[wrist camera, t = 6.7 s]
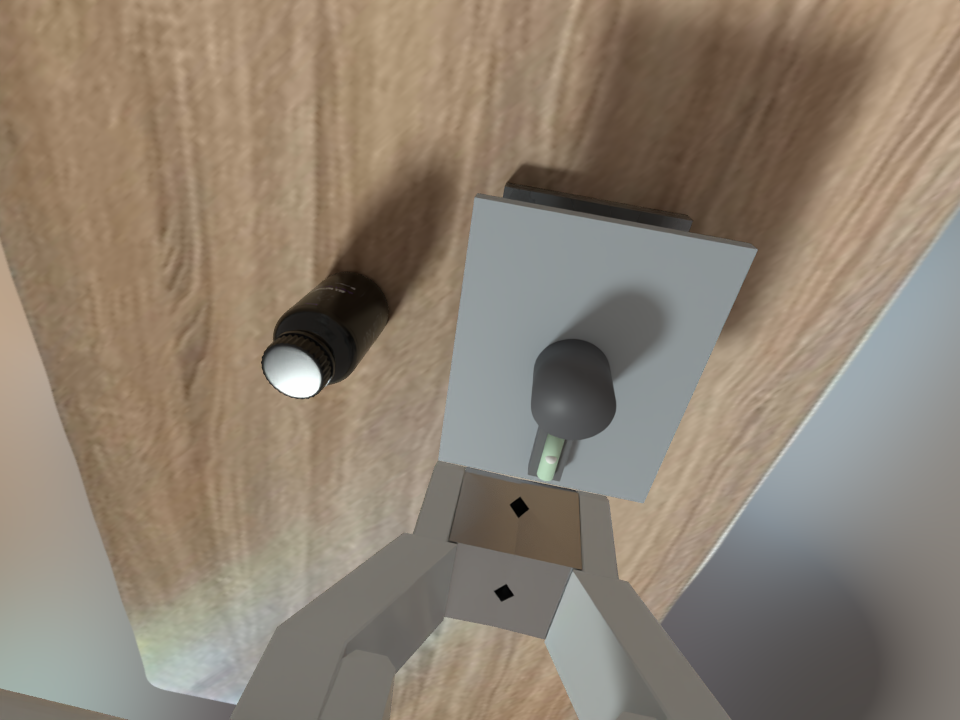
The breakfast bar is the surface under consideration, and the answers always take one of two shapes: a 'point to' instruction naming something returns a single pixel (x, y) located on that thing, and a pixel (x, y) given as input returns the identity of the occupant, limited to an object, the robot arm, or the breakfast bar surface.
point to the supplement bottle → (325, 335)
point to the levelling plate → (591, 302)
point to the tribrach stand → (597, 207)
